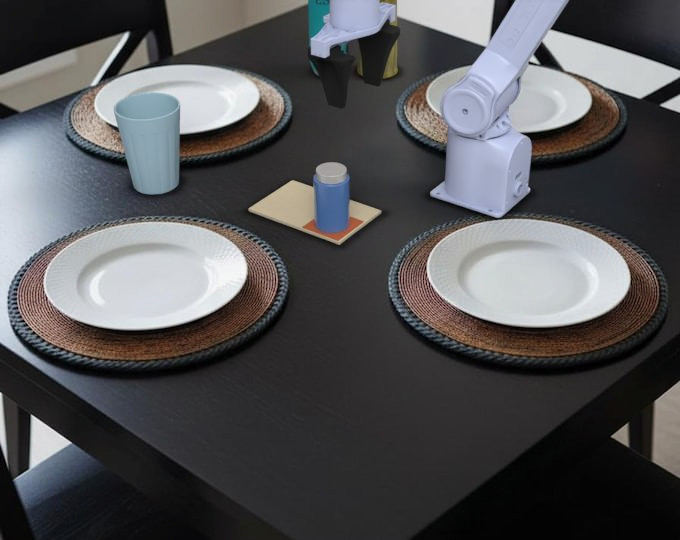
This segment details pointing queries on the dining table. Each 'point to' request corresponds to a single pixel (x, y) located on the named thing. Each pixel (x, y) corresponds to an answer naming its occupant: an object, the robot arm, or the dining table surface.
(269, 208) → the place mat
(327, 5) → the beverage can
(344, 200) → the salt shaker
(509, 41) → the robot arm
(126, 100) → the cup
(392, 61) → the vase
